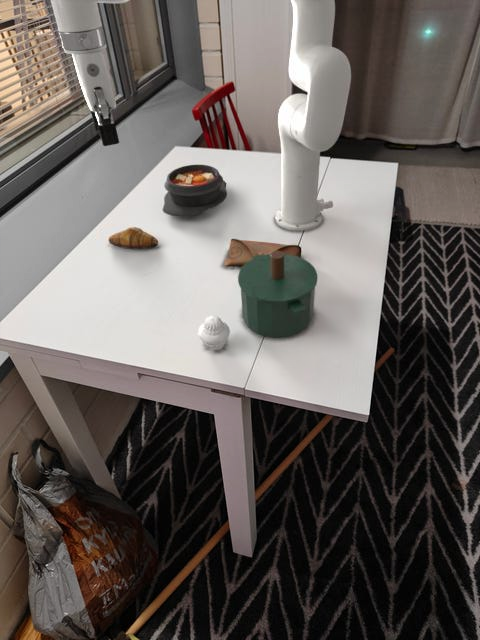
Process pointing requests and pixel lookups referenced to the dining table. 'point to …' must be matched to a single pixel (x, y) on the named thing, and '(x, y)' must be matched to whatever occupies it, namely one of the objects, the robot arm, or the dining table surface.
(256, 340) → the dining table surface
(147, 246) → the croissant
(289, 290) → the lid
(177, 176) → the casserole
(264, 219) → the dining table surface
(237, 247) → the sunglasses case
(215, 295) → the dining table surface
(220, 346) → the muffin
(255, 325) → the pot
